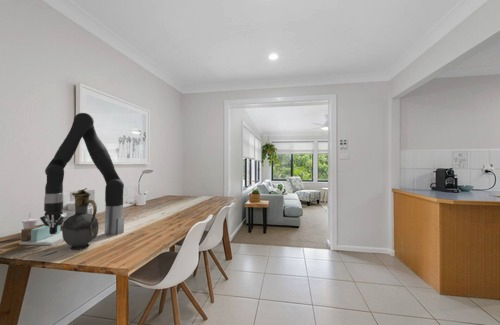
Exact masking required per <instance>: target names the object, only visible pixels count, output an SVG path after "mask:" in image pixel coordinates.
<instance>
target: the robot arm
mask: <svg viewBox="0 0 500 325" xmlns="http://www.w3.org/2000/svg"><path fill="white" fill-rule="evenodd" d="M94 121H95V120H94V118H93V116H92V115H90V114H89V113H86V112H79V113H78V114H76V115H75V116H74V118H73V122H72V125H71V127H70V130H69V131H68V134H67V136H66V137H65V138H64V139H63V142H62V143H61V144H60V146H59V147H58V149H57V151H56V153H55V154H54V156H53V158H52V159H51V161H49V162H48V164H47V166H46V167H45V170H44V173H45V175H46V184H45V189H44V198H43V201H44V202H43V211H44V212H45V213H44V215H43V216H40V217H39V220H40V221H41V222H42V224H45V226H49V227H50V234H56V233H57V226H59V225H61V226H62V225H63V223H64V221H65V220H66V218H67V216H66V215H64V213H62V209H63V193H64V192H63V191H64V185H63V184H64V179H65V178H64V177H65V168H66V166H67V165H68V163H69V162H70V161H71V160H72V158H73V156H74V155H75V152H76V151H77V148H78V146H79V144H80V142H81V140H82V139H83V141H84V144H85V147H86V149H87V152H88V154H89V157H90V158H91V161H92V163H93V164H94V166H95V167H96V168H97V170H98V171H99V172H100V173H101V175H102V177H103V179H104V182H105V184H106V185H105V187H104V188H105V190H104V192H105V193H104V202H105V205H104V206H105V210H104V212H105V213H104V235H105V236H117V235H120V234H122V233H124V232H125V216H124V215H123V214H124V188H125V185H124V182H123V181H122V179H121V178H120V175H119V174H118V173H117V170H116V168H115V166H114V163H113V160H112V157H111V156H110V153H109V150H108V149H107V146H106V145H105V144H104V143H103V141H101V139H100V138H99V135H98V134H97V131H96V129H95V125H94Z"/></svg>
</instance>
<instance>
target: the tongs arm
mask: <svg viewBox="0 0 500 325" xmlns="http://www.w3.org/2000/svg"><path fill="white" fill-rule="evenodd" d="M61 227H62V224H61V225H59V226H57V233H56V234H58V233H60V231H61V230H62V229H61ZM52 235H55V234H50V227H49V226H42V227H38V228H35V229H32V230H31V241H39V240H41V239H44V238H47V237H50V236H52Z"/></svg>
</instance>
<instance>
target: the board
mask: <svg viewBox="0 0 500 325" xmlns="http://www.w3.org/2000/svg"><path fill="white" fill-rule="evenodd" d="M63 241H64V240H63V235H62V230H60V233H58V234H55V235H52V236H50V237H47V238H44V239H41V240H39V241H31V240H29V241H21V240H20V241H19V245H29V246H31V245H32V246H33V245H34V246H35V245H36V246H39V245H40V246H53V245H56V244H58V243H61V242H63ZM64 242H65V241H64Z"/></svg>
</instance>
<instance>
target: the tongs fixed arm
mask: <svg viewBox="0 0 500 325" xmlns="http://www.w3.org/2000/svg"><path fill="white" fill-rule="evenodd" d="M42 226H45V224H44V223H41V224H38V225H37V224H36V226H33V227H29V228H26V229H24V228H23V229H21V234H20V238H21V239H20V242H21V241H29V240H31V230H32V229H35V228H38V227H42Z"/></svg>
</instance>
